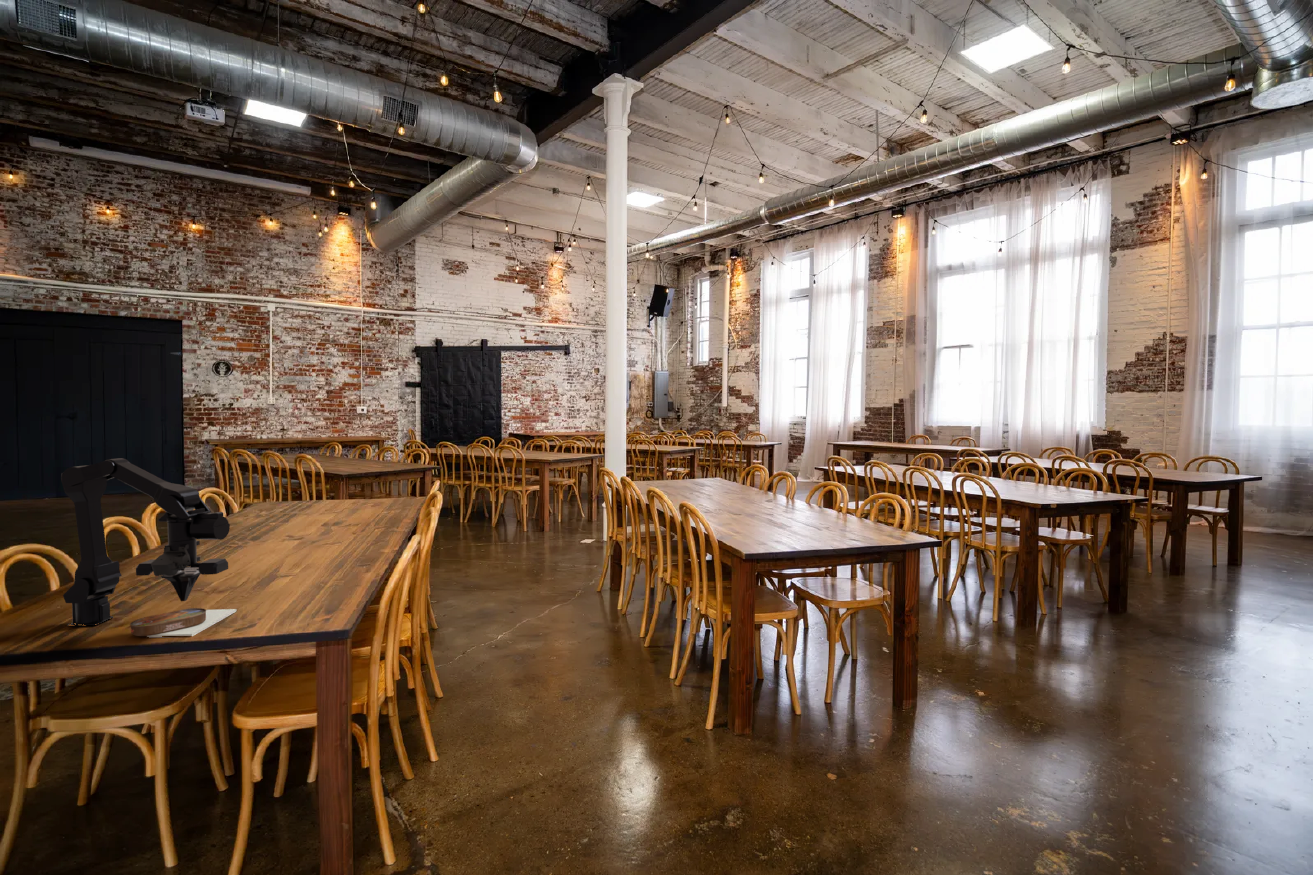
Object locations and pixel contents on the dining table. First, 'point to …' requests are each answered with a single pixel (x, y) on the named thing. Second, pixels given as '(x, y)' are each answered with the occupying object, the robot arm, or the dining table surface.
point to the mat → (211, 619)
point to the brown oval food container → (168, 622)
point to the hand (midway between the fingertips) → (183, 600)
